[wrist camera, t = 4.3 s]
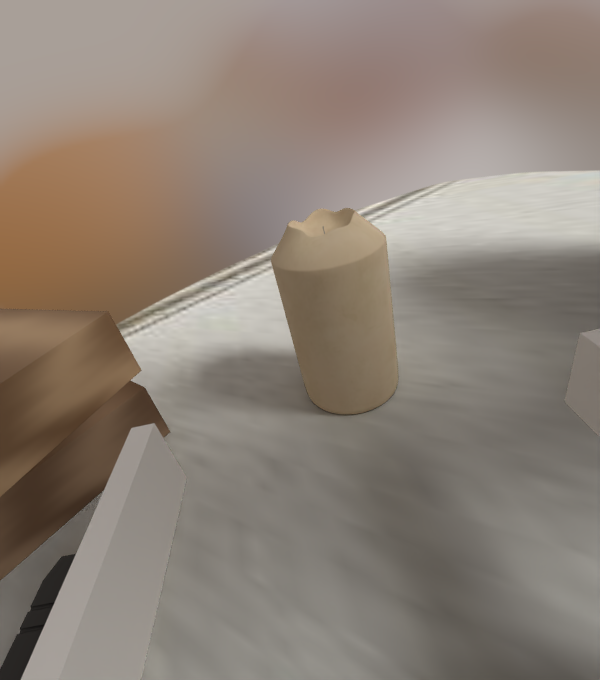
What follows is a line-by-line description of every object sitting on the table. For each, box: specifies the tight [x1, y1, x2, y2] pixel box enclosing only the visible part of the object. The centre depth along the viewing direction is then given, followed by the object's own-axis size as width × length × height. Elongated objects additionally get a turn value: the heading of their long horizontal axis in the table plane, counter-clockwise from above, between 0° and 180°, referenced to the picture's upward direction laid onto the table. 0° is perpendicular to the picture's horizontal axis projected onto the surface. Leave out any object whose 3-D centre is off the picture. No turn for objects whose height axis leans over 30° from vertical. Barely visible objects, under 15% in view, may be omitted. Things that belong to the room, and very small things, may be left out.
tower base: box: [0, 381, 170, 580], centre depth 21 cm, size 12×12×4 cm
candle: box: [271, 208, 398, 414], centre depth 19 cm, size 6×6×10 cm
